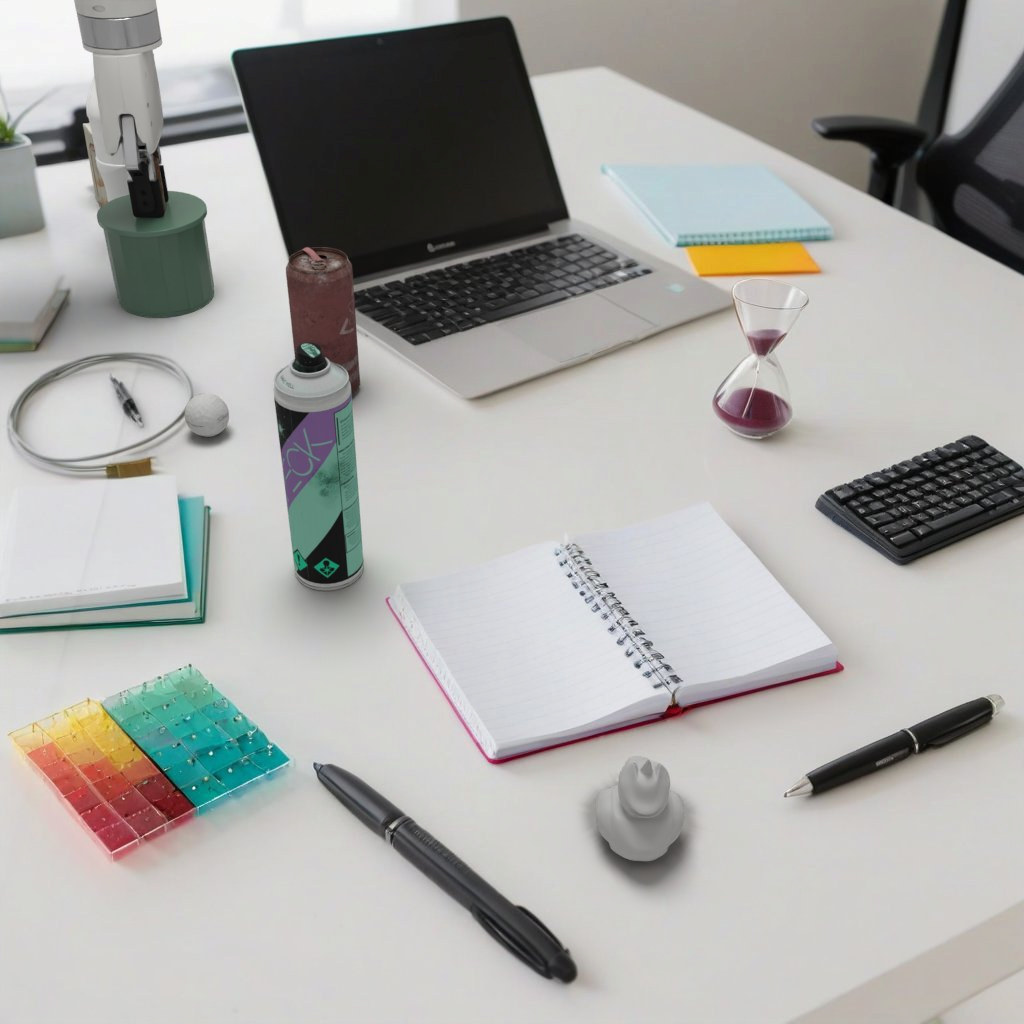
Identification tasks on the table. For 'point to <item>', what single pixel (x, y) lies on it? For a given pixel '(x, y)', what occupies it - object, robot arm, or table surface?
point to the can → (324, 306)
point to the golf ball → (206, 414)
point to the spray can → (319, 469)
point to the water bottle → (106, 164)
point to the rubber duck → (640, 811)
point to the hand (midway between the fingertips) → (151, 207)
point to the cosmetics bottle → (95, 167)
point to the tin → (162, 272)
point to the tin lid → (177, 218)
